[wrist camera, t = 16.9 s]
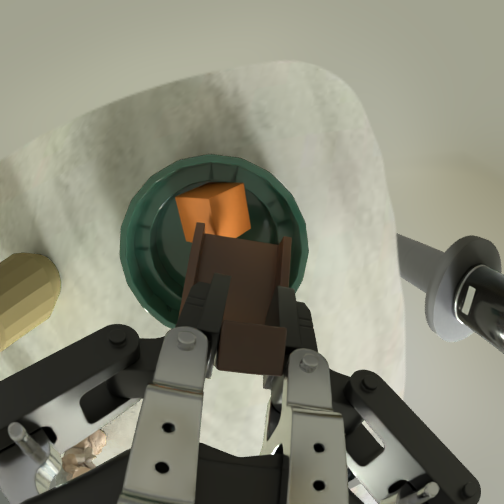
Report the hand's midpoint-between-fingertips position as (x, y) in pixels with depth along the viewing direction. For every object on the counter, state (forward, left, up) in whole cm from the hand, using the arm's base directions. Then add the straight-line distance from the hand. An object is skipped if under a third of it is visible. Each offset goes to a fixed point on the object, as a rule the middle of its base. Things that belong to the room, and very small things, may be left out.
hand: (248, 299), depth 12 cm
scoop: (0, +3, -8) cm, 8 cm away
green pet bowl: (+2, +1, -16) cm, 17 cm away
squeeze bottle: (+22, +8, -17) cm, 29 cm away
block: (+1, 0, -13) cm, 13 cm away
